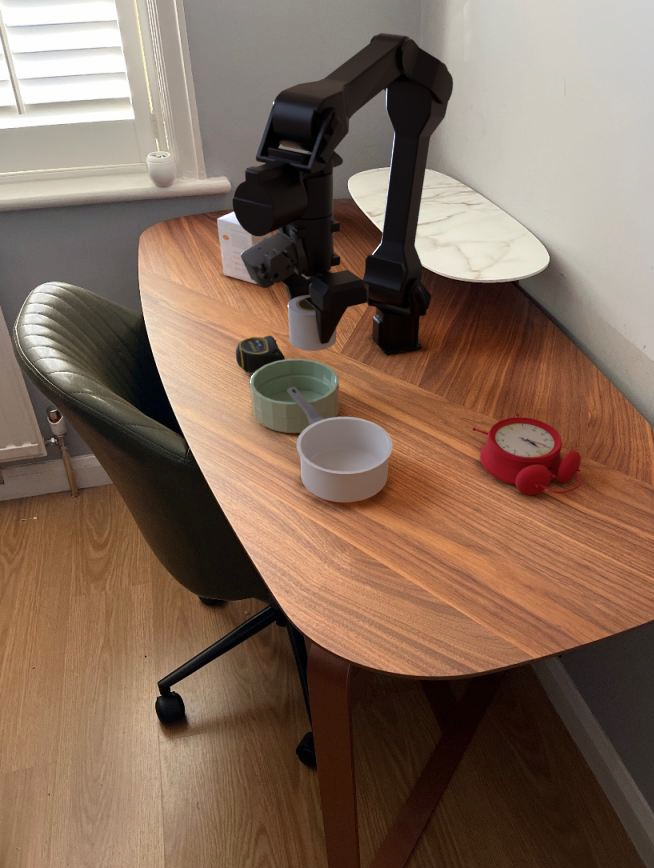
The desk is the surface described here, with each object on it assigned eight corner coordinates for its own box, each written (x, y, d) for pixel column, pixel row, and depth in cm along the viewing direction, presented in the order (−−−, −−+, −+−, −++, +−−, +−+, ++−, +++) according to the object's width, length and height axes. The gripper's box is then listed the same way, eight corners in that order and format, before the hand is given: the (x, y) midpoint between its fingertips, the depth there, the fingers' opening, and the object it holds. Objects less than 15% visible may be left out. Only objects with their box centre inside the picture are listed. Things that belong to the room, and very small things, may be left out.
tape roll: (327, 326, 102) (327, 291, 99) (342, 346, 98) (342, 310, 95) (283, 333, 101) (282, 297, 97) (297, 354, 96) (295, 317, 93)
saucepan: (329, 410, 104) (329, 376, 100) (408, 491, 92) (411, 454, 88) (254, 434, 100) (250, 398, 96) (326, 522, 87) (325, 485, 83)
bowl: (323, 383, 111) (322, 353, 107) (350, 426, 102) (350, 394, 99) (244, 397, 107) (241, 366, 104) (265, 443, 99) (262, 411, 96)
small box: (275, 275, 140) (271, 218, 134) (256, 285, 137) (251, 227, 130) (241, 265, 144) (236, 209, 137) (222, 275, 140) (216, 218, 133)
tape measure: (286, 375, 112) (285, 352, 110) (241, 381, 111) (239, 358, 108) (276, 353, 117) (275, 331, 115) (233, 359, 116) (231, 337, 113)
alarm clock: (524, 405, 100) (607, 439, 88) (524, 447, 103) (604, 486, 91) (461, 425, 96) (539, 464, 84) (463, 469, 99) (538, 512, 87)
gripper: (215, 199, 91) (227, 318, 101) (283, 249, 79) (289, 378, 89) (296, 186, 96) (300, 302, 106) (372, 232, 84) (369, 357, 94)
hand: (312, 332), depth 99 cm, fingers closed on tape roll, 6 cm apart
